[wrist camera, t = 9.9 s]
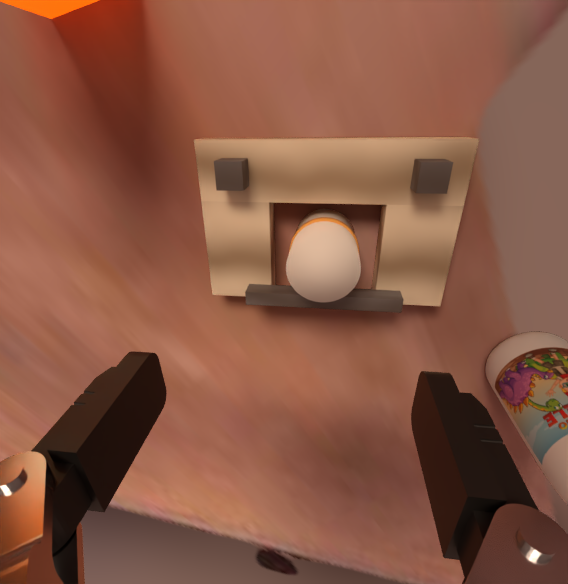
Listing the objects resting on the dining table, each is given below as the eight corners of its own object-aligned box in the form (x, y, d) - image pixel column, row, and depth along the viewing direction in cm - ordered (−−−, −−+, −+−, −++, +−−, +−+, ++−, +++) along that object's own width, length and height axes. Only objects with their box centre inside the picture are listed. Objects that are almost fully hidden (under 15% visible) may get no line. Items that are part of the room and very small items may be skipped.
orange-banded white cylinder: (294, 207, 29) (284, 231, 23) (358, 208, 28) (365, 233, 22) (294, 265, 31) (285, 301, 25) (353, 267, 31) (358, 305, 25)
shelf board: (204, 137, 27) (183, 141, 23) (466, 137, 25) (491, 141, 21) (220, 283, 33) (205, 305, 29) (432, 293, 31) (447, 318, 27)
